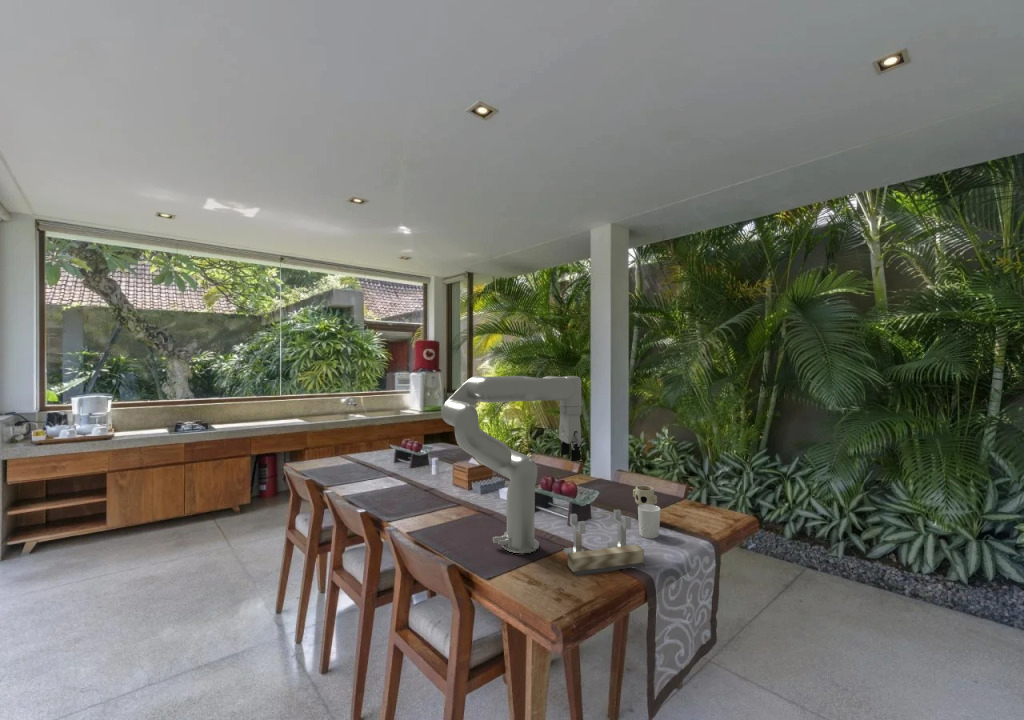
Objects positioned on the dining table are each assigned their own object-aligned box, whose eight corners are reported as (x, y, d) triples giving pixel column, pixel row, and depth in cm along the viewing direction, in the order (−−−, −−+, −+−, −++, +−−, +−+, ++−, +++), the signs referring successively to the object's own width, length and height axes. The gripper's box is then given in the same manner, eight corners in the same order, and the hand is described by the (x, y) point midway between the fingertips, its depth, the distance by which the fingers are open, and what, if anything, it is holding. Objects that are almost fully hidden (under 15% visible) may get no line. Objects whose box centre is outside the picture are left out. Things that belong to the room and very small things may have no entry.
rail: (572, 571, 141) (572, 558, 140) (567, 565, 144) (567, 552, 144) (643, 562, 147) (643, 549, 147) (637, 556, 151) (637, 544, 150)
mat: (576, 575, 139) (576, 573, 139) (567, 565, 146) (567, 563, 146) (644, 566, 145) (644, 564, 145) (633, 556, 152) (633, 554, 152)
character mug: (627, 518, 186) (627, 486, 185) (638, 514, 190) (638, 482, 190) (650, 526, 177) (651, 492, 177) (661, 522, 182) (662, 489, 181)
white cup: (648, 541, 164) (648, 513, 164) (633, 533, 171) (633, 506, 171) (664, 536, 168) (665, 509, 168) (649, 529, 175) (649, 502, 175)
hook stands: (574, 563, 147) (574, 524, 147) (563, 551, 156) (563, 514, 155) (636, 555, 153) (637, 517, 152) (623, 544, 162) (623, 508, 161)
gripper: (552, 407, 175) (552, 453, 176) (569, 414, 159) (569, 464, 159) (571, 407, 177) (570, 451, 178) (590, 413, 160) (589, 462, 161)
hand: (570, 457), depth 168 cm, fingers open, 9 cm apart
